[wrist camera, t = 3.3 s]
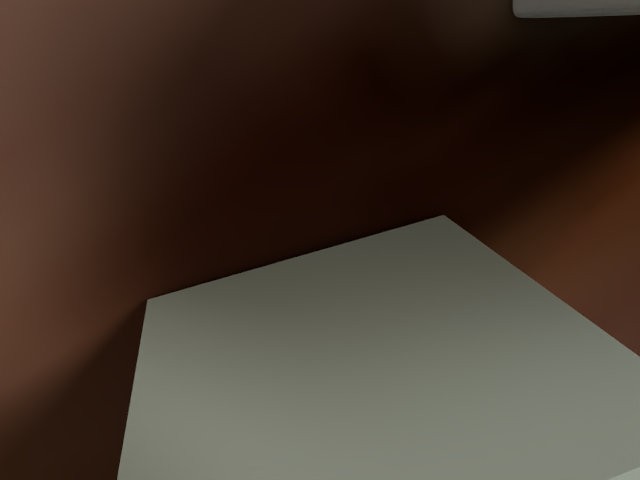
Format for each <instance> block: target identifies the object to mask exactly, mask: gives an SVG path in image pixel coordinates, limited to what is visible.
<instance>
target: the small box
mask: <svg viewBox="0 0 640 480" xmlns="http://www.w3.org/2000/svg"><path fill="white" fill-rule="evenodd" d="M513 13H514V14H515V16H516V17H519V18H551V17H589V16H617V15H640V0H513Z"/></svg>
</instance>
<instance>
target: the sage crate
mask: <svg viewBox="0 0 640 480" xmlns="http://www.w3.org/2000/svg"><path fill="white" fill-rule="evenodd" d="M117 480H640V357H639V356H638V355H636V354H635V353H634V352H632V351H631V350H629V349H628V348H627V347H625V346H624V345H623V344H621V343H620V342H618V341H617V340H616V339H614V338H613V337H611V336H610V335H609V334H607V333H606V332H605V331H603V330H602V329H600V328H599V327H598V326H596V325H595V324H594V323H592V322H591V321H589V320H588V319H587V318H585V317H584V316H583V315H581V314H580V313H578V312H577V311H576V310H574V309H573V308H571V307H570V306H569V305H567V304H566V303H565V302H563V301H562V300H560V299H559V298H558V297H556V296H555V295H554V294H552V293H551V292H549V291H548V290H547V289H545V288H544V287H543V286H541V285H540V284H538V283H537V282H536V281H534V280H533V279H531V278H530V277H529V276H527V275H526V274H525V273H523V272H522V271H520V270H519V269H518V268H516V267H515V266H514V265H512V264H511V263H509V262H508V261H507V260H505V259H504V258H503V257H501V256H500V255H498V254H497V253H496V252H494V251H493V250H491V249H490V248H489V247H487V246H486V245H485V244H483V243H482V242H480V241H479V240H478V239H476V238H475V237H474V236H472V235H471V234H469V233H468V232H467V231H465V230H464V229H463V228H461V227H460V226H458V225H457V224H456V223H454V222H453V221H451V220H450V219H449V218H447V217H446V216H445V215H442V216H438V217H435V218H431V219H428V220H424V221H421V222H417V223H414V224H410V225H407V226H403V227H400V228H396V229H393V230H389V231H386V232H382V233H379V234H375V235H372V236H368V237H365V238H361V239H358V240H354V241H351V242H347V243H344V244H340V245H337V246H333V247H330V248H326V249H323V250H319V251H316V252H312V253H309V254H305V255H302V256H298V257H295V258H291V259H288V260H284V261H281V262H277V263H274V264H270V265H267V266H263V267H260V268H256V269H253V270H249V271H246V272H242V273H239V274H235V275H232V276H228V277H225V278H221V279H218V280H214V281H211V282H207V283H204V284H200V285H197V286H193V287H190V288H186V289H183V290H179V291H176V292H173V293H169V294H166V295H162V296H159V297H155V298H152V299H148V300H147V306H146V312H145V318H144V324H143V330H142V336H141V341H140V347H139V353H138V359H137V365H136V371H135V377H134V383H133V389H132V394H131V400H130V406H129V412H128V418H127V424H126V430H125V436H124V442H123V447H122V453H121V459H120V465H119V471H118V477H117Z"/></svg>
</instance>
